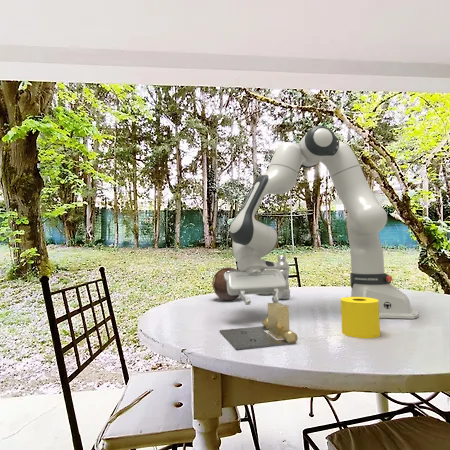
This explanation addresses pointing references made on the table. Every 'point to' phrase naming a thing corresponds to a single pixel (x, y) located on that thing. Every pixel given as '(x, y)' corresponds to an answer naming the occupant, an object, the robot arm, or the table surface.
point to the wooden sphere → (222, 285)
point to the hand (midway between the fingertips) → (262, 302)
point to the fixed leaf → (256, 337)
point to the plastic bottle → (284, 269)
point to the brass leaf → (278, 319)
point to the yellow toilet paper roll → (360, 317)
